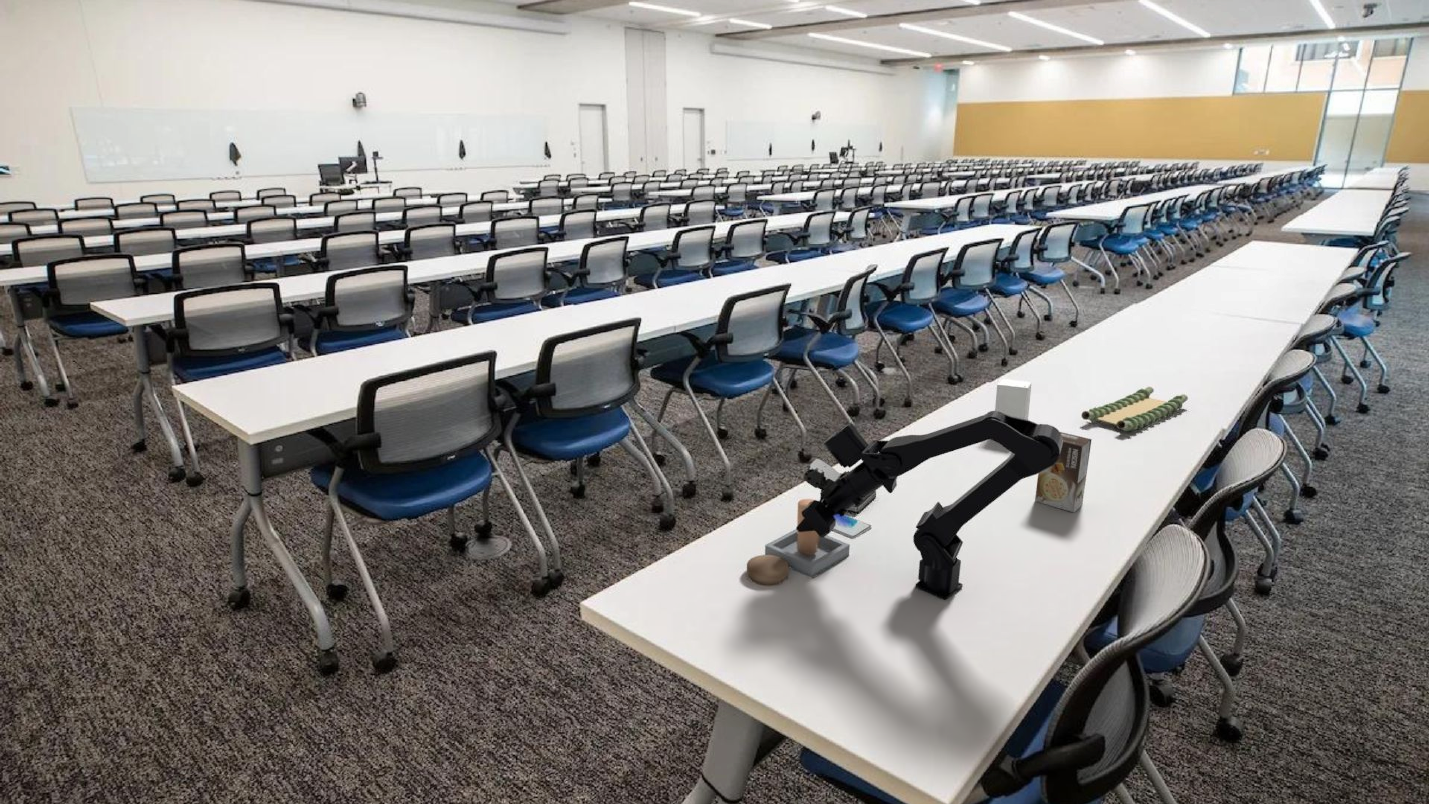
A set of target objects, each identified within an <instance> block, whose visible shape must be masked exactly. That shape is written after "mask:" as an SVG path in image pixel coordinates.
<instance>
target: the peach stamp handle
mask: <svg viewBox="0 0 1429 804" xmlns="http://www.w3.org/2000/svg"><path fill="white" fill-rule="evenodd" d="M814 500H815V499H812V498H804V499H800V500H799V501H798V502H797V520H796V521H797V522H796V524H797V525H796V527H797V526H798V525H799V524H800V523H801V521H802V520H803V519H804V517H803V516H802V513H801V512H802V511H803V510H804V508H805V507H806V506H807V505H808V504H809V503H810V502H812V501H814ZM818 550H819V535H818V534H817V533H816V531H806V532H798V530H797V551H799V552H800V553H803V554H814V553H816V552H818Z"/></svg>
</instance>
